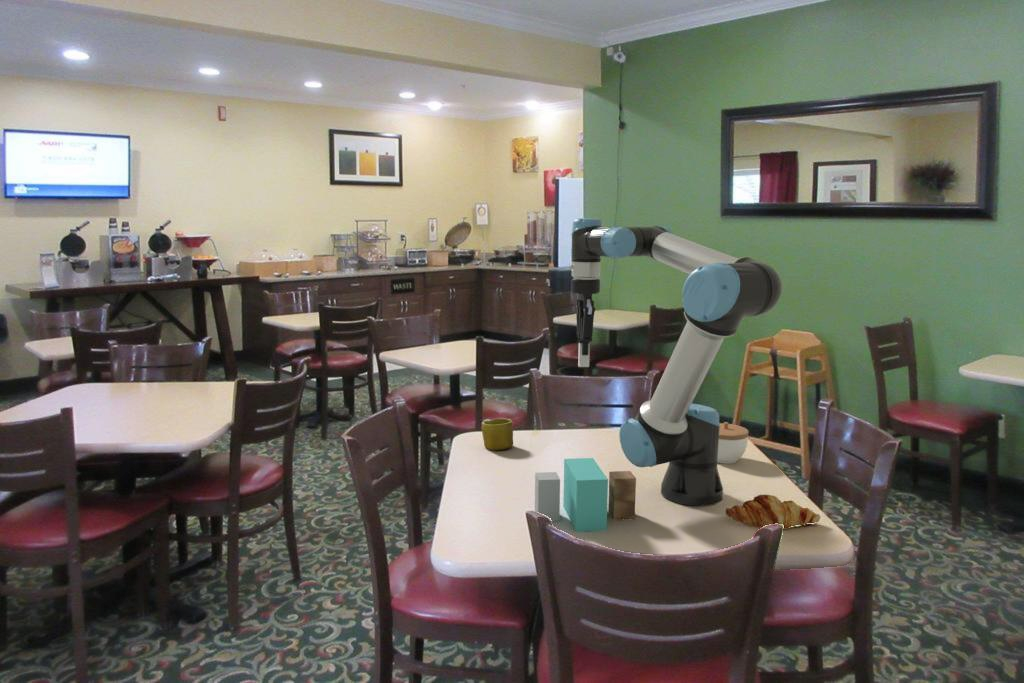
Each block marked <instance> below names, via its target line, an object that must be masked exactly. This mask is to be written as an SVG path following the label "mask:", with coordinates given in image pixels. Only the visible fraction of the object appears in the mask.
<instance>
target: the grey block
mask: <svg viewBox="0 0 1024 683" xmlns="http://www.w3.org/2000/svg"><path fill="white" fill-rule="evenodd" d="M534 476H535V477H534V512H535V511H536V512H539V513H541V514H544V515H546V516H548V517H549V518H551V520H552V521H551V522H559V521H560V512H561V510H560V508H561V506H560V505H561V502H560V500H561V492H560V491H561V478H560V476H559V474H558V472H556V471H552V472H551V471H548V472H545V471H544V472H535V474H534Z"/></svg>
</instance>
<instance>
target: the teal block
mask: <svg viewBox="0 0 1024 683" xmlns="http://www.w3.org/2000/svg"><path fill="white" fill-rule="evenodd" d="M608 498H609V478H607V476H606V474H605V473H604V471H603V470H602V469H601V467H600V466H599V464H598V463H597V461H596V460H595V459H594V458H593V457H585V458H583V457H582V458H581V457H580V458H579V457H578V458H564V459H563V498H562V500H563V509H564V510H565V512H566V514H567V517H568V519H569V521H570V523H571V525H572V527H573V529H574V531H575V532H577V533H580V532H603V531H607V530H608V529H607V526H608Z"/></svg>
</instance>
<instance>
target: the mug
mask: <svg viewBox="0 0 1024 683" xmlns="http://www.w3.org/2000/svg"><path fill="white" fill-rule="evenodd" d="M481 432H482V439H483V443H484V444H483V445H484V447H485V448H486V449H487V450H489V451H493V452H494V451H503V450H508V449H510V448H512V447H513V446H514V422H513V420H512V419H511V418H493V419H489V418H486V419H484V420H483V421H482V422H481Z"/></svg>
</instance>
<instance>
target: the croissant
mask: <svg viewBox="0 0 1024 683" xmlns="http://www.w3.org/2000/svg"><path fill="white" fill-rule="evenodd" d="M725 514H726V516H727V517H729V519H733V520H734V521H736V522H737V521H738V522H740V523H741V524H743V525H746V526H749V527H755V526H756V527H757V528H760V527H763V526H765V525H769V524H775V523H778V524H783V525H784V529H783V530H786V529H785V528H788V529H790V528H789V527H791V526H795V525H804V524H806V525H807V523H815V522H817V523H819V522H820V519H821V515H820V513H815V512H814V511H813V510H812V509H810V508H809V507H802V506H801V505H799V504H797V503H796V502H795V501H794V500H783V502H782V500H780V499H779V497H777V496H776V495H770V494H759V495H756V496H754V497H753V499H749V500H746V501H745V502H744V503H743V504H742V505H741V504H736V505H733V506H732V507H729V508H728V507H727V508H725ZM815 524H816V523H815ZM804 526H805V525H804ZM756 527H755V528H756Z"/></svg>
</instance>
